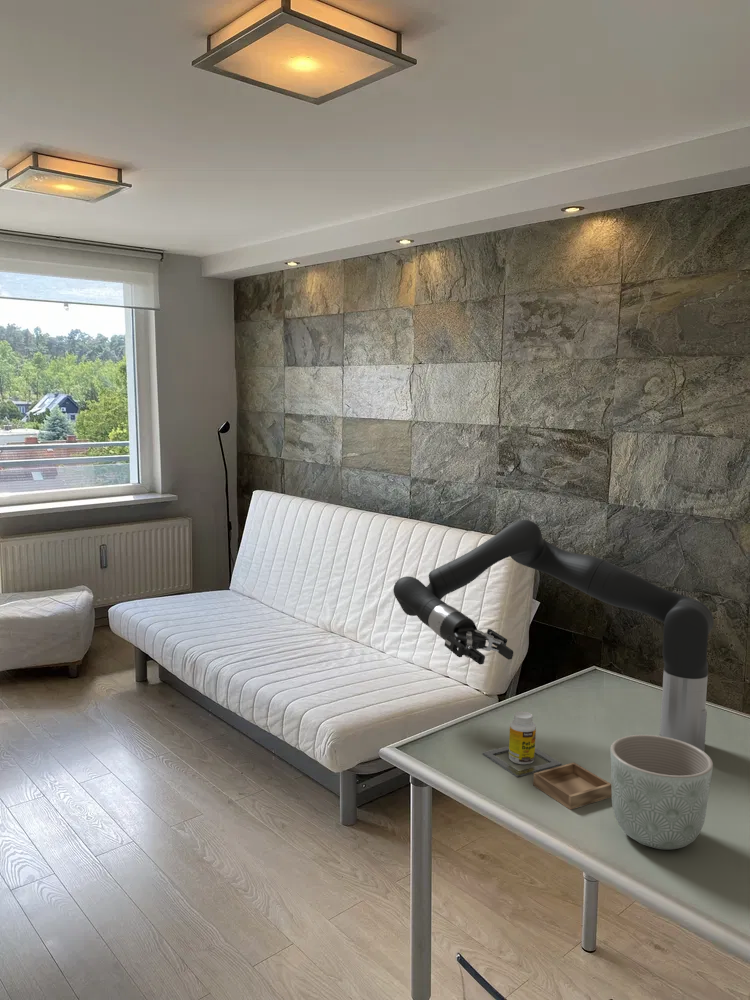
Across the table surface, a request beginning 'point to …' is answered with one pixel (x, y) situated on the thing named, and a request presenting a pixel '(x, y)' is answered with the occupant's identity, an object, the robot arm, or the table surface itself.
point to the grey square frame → (517, 773)
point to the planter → (659, 789)
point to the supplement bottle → (522, 738)
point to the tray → (572, 785)
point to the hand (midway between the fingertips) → (497, 658)
